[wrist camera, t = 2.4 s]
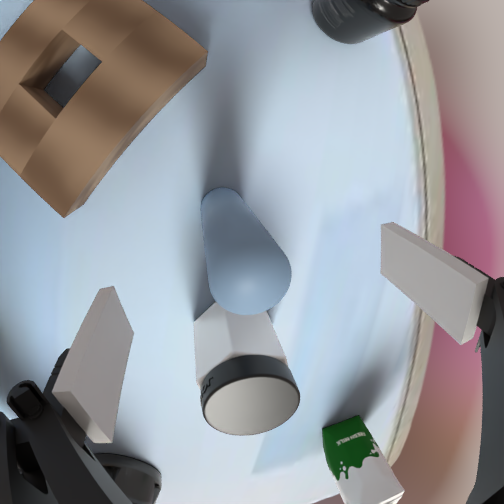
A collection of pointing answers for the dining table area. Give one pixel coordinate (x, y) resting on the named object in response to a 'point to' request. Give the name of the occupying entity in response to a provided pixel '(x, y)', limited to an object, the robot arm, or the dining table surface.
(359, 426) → the milk carton
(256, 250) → the dowel
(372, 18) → the supplement bottle
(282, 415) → the jar
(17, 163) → the socket block
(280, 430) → the dining table surface
